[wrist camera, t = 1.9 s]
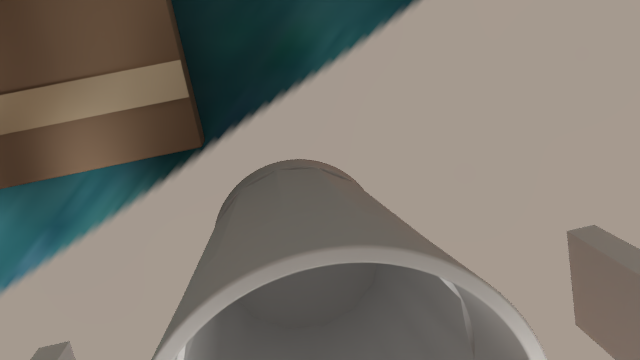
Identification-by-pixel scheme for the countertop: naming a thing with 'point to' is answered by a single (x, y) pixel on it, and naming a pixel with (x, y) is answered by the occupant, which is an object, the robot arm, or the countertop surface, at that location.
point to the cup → (333, 282)
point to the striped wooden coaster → (91, 87)
